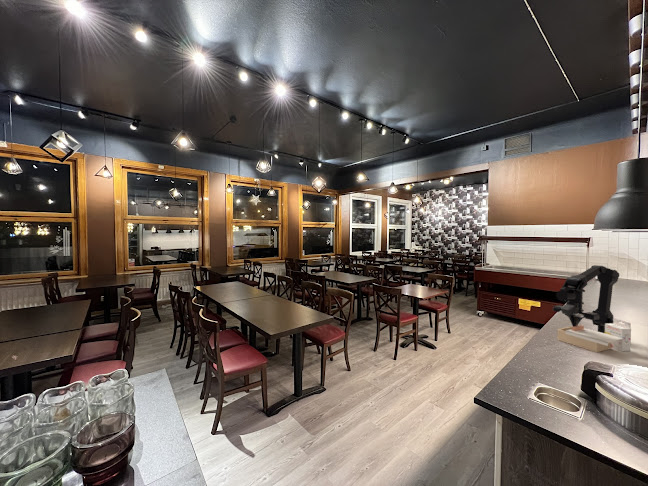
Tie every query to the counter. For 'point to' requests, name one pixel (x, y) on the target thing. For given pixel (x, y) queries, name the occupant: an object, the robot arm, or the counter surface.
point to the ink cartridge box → (620, 334)
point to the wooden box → (581, 341)
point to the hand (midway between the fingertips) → (574, 327)
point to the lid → (592, 335)
